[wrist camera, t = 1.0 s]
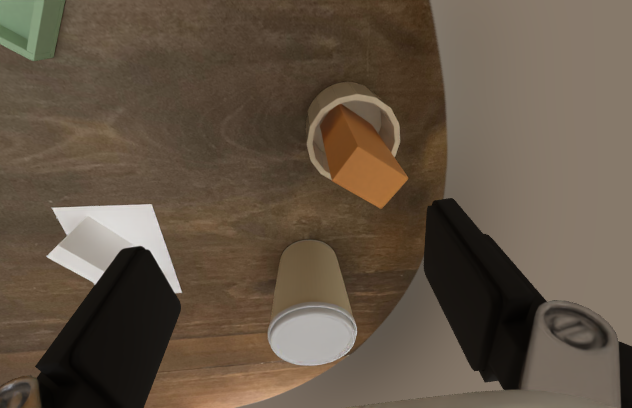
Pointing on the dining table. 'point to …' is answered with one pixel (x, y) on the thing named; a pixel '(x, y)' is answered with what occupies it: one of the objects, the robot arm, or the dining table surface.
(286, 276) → the coffee cup
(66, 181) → the dining table surface
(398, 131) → the cup
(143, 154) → the dining table surface
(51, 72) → the dining table surface
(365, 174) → the orange rectangular bar
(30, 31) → the tray
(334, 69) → the dining table surface
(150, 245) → the napkin holder
